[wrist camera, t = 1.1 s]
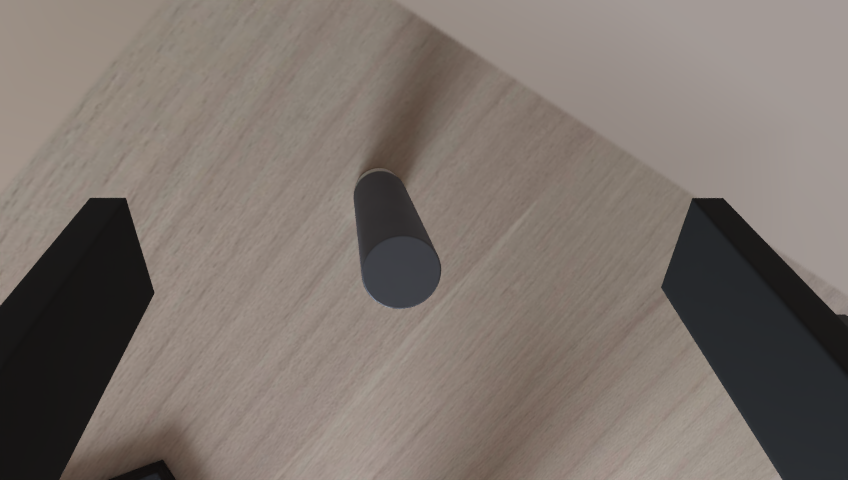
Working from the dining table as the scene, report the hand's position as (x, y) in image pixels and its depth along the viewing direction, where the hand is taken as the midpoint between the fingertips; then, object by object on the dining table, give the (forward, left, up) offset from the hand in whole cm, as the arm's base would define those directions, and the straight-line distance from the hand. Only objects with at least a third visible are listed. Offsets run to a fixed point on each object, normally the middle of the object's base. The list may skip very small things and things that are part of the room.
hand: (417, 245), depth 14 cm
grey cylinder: (+3, -1, -18) cm, 18 cm away
